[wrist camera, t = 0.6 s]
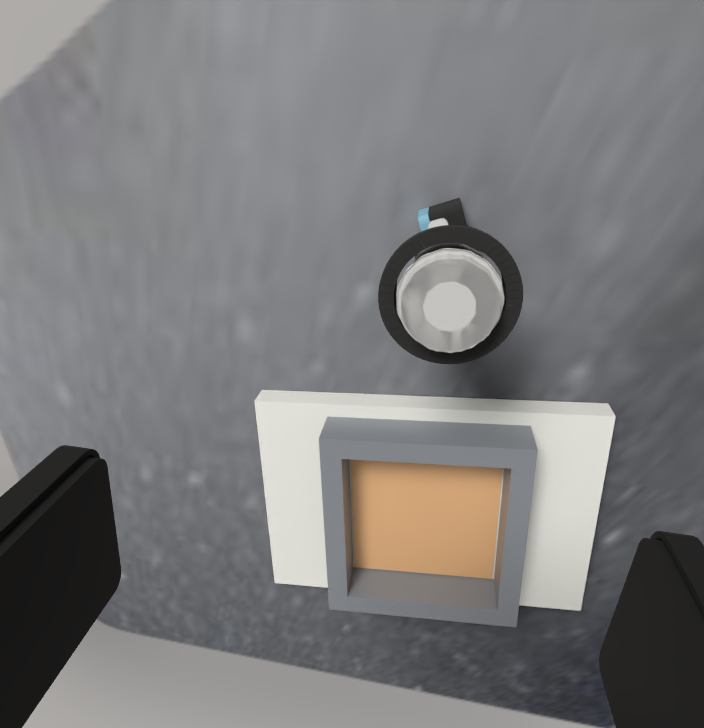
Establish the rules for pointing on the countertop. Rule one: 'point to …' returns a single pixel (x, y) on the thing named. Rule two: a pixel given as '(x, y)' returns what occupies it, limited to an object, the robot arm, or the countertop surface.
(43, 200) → the countertop surface
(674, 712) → the robot arm
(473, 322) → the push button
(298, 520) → the dock board
